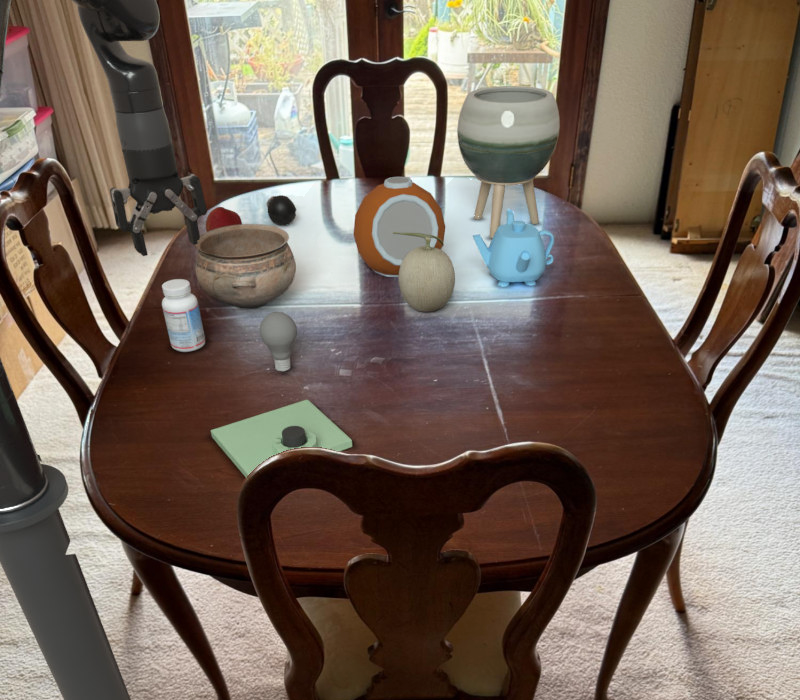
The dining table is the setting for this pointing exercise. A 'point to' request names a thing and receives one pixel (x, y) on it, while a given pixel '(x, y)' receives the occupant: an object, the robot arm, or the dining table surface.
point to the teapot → (516, 252)
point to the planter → (507, 142)
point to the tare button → (293, 436)
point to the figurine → (281, 210)
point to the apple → (221, 218)
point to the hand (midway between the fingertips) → (168, 248)
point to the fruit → (426, 276)
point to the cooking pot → (245, 264)
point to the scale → (277, 434)
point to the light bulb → (279, 337)
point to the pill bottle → (182, 316)
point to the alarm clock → (396, 224)
